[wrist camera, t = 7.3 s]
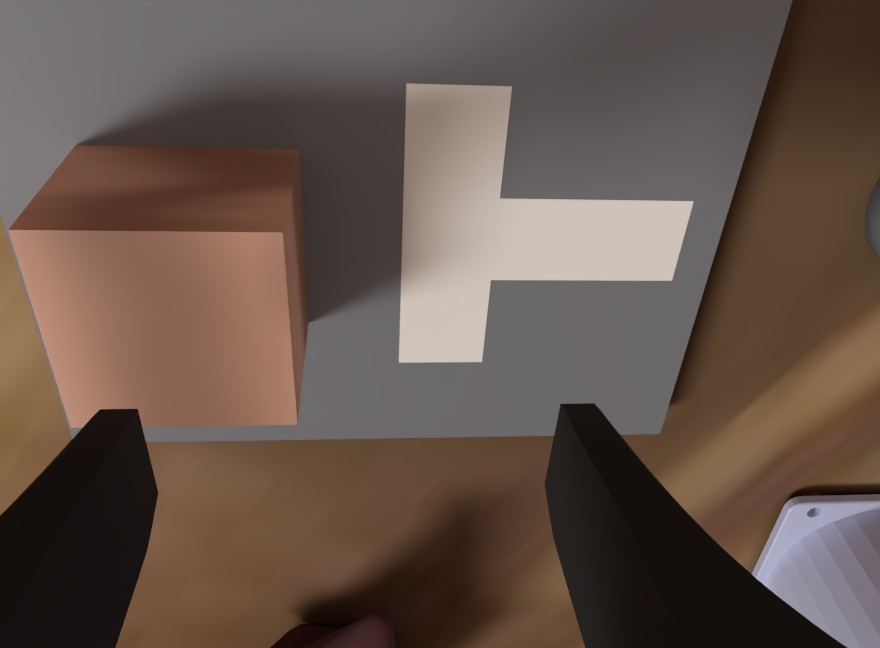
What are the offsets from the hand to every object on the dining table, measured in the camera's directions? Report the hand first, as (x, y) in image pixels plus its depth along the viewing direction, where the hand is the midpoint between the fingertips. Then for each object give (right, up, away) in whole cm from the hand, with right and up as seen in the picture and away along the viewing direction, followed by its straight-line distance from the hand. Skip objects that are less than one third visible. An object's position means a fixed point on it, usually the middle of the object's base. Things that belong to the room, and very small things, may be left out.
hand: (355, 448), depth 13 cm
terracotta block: (-4, +4, +6) cm, 8 cm away
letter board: (0, +5, +7) cm, 8 cm away
